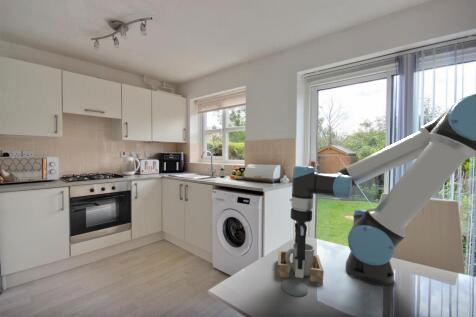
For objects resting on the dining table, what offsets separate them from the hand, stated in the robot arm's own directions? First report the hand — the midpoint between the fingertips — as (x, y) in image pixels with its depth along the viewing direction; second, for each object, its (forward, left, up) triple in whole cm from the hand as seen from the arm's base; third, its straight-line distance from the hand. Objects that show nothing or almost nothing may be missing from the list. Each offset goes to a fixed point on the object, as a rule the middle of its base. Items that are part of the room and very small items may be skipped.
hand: (298, 269), depth 83 cm
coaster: (+2, +12, 0) cm, 12 cm away
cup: (0, 0, 0) cm, 0 cm away
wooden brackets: (0, 0, 0) cm, 0 cm away
